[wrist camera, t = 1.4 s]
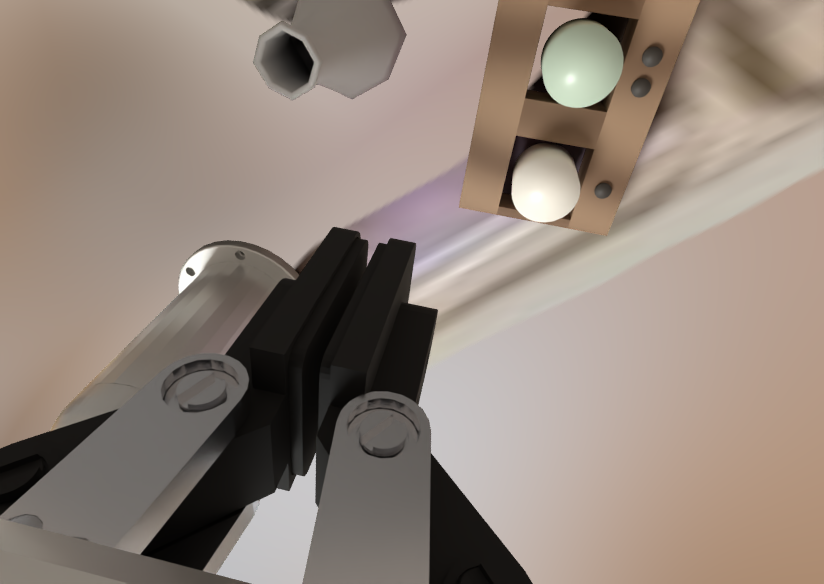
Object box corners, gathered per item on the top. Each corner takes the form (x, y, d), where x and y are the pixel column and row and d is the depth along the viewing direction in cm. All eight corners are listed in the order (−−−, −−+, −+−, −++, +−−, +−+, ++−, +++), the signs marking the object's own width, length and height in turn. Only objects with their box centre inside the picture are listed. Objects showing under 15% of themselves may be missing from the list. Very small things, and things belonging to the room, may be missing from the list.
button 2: (600, 99, 30) (607, 113, 27) (533, 88, 30) (534, 101, 27) (624, 24, 27) (635, 31, 25) (551, 12, 28) (555, 19, 25)
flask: (338, -66, 29) (265, -73, 20) (427, 34, 31) (392, 63, 22) (272, 35, 32) (187, 62, 24) (355, 117, 34) (302, 168, 26)
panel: (601, 219, 35) (607, 237, 33) (462, 193, 36) (458, 208, 34) (745, -158, 24) (768, -170, 21) (535, -185, 24) (536, -199, 22)
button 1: (565, 206, 34) (568, 227, 31) (506, 195, 34) (505, 215, 31) (584, 148, 31) (589, 166, 29) (520, 137, 32) (520, 154, 29)
